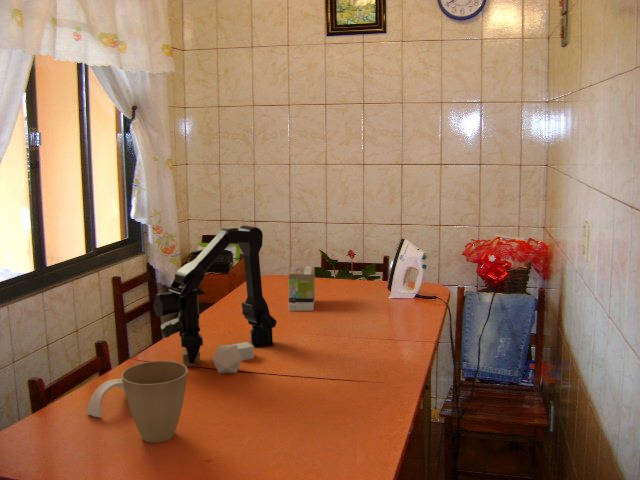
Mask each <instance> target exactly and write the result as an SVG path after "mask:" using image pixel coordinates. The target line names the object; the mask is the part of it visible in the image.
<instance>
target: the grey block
mask: <svg viewBox="0 0 640 480" xmlns="http://www.w3.org/2000/svg"><path fill="white" fill-rule="evenodd" d="M232 345H237V347H238V350H239V352H240V354H241V357H242V361H247V360H251V359H254V358H255V356H254V355H255V354H254V352H255V351H254V346H253V344H252V343H249V342H248V341H245V342H239V343H233V344H232Z"/></svg>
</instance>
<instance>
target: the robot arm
mask: <svg viewBox="0 0 640 480" xmlns="http://www.w3.org/2000/svg"><path fill="white" fill-rule="evenodd" d="M263 235H264V234H263V231H262V230H261V229H260V228H258V227H256V226H252V225H246V224H245V225H241V226H240V227H237V228H234V227H233V228H231V227H230V228H225V227H224V228H221V229H219V230H218V232H217V234H216V235H215V236H214V238H213V239H211V241H210V242H209V243H208V244H207V245H206V246H205V248H203V250H202V251H201V252H200V253H199V254H198V255H197V256H196V258H194V259H193V260H192V261H190V262H188V263H185V264H184V265H183V266H182V267H180V268H179V269H178V270H177V271H176V272H175V274H174V278H173V281H172V283H171V284H170V286H169V287H168V290H167V292H159V293H156V295H155V296H156V298H154V300H153V305H152V307H153V310H154V313H155V315H156V316H157V317H158V318H162V317H167V316H171V315H176V314H177V317H176V318H174V319H171V320H169V321H166V322H163V323H162V324H160V329H161V332H162V335H164V338H166V339H167V338H169V337H170V336H173V335H174V334H175V335H176V334H177V333H178V334H179V337H180V347H181V348H183V349H187V353H188V357H189V361H190V364H192V363H194V361H195V359H196V356H197V354H198V351H199V352H200V348H201V347H202V346H203V345H204V340H203V335H202V334H200V332H201V328H200V327H201V326H200V312H199V311H200V310H199V296H201V295H205V291H203V290H202V289H201V288H200V285H201V284H202V282H203V281H204V279H205V277H206V272H207V270H208V269H209V268H210V267H211V266H212V264H213V263H214V262H215V261H216V260H217V259H218V258H219V256H221V254H222V253H223V252H224V251H225V250H226V249H227V247H229V246H230V245H231V244H232V243H237V244H238V247H239V249H240V251H241V252H242V253H243V254H242V255H243V262H244V273H245V284H246V294H247V298H246V299H245V301H244V302H241V308H242V313H241V314H242V315H243V317H244V319H245V320H247V322H248V325H251V329H250V331H249V332H250V344H251V345H252V346H253V348H260V347H270V346H271V347H272V346H274V342H273V329H274V328H275V327H276V325H277V320H276V319H275V318H274V317H273V316H272V315H271V313H270V309H269V306H268V305H269V304H268V303H267V301H266V299H265V297H264V295H263V287H262V285H263V284H262V276H261V273H262V271H261V265H260V251H261V249H262V247H263Z"/></svg>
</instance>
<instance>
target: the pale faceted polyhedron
mask: <svg viewBox="0 0 640 480" xmlns="http://www.w3.org/2000/svg"><path fill="white" fill-rule="evenodd" d="M212 361H213V363H214V366H215V368H216V370H217V372H218V374H237V373H238V370H239V368H240V366H241V363H242V361H243V360H242V357H241V354H240V352H239V350H238V347H237V345H233V344H219V345H218V346H217V348H216V351H215V353H214V355H213V357H212Z"/></svg>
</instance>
